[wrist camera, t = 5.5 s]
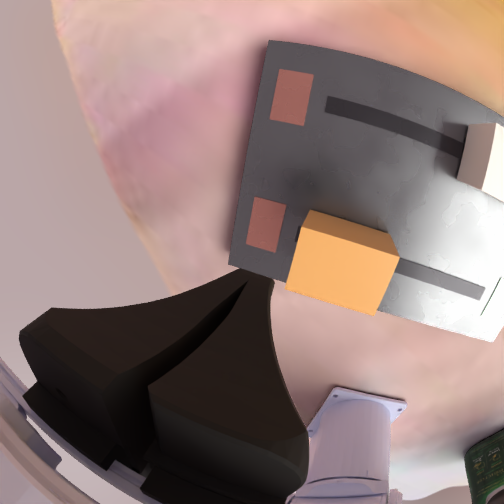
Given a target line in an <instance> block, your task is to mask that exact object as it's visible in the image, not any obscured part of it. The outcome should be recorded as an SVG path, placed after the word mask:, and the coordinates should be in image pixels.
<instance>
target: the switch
mask: <svg viewBox="0 0 504 504" xmlns="http://www.w3.org/2000/svg"><path fill="white" fill-rule="evenodd" d="M456 180H458V181H461V182H463V183H465V184H467V185H469V186H471V187H473V188H475V189H477V190H479V191H481V192H483V193H485V194H487V195H489V196H491V197H493V198H495V199H497V200H499V201H500V202H502V203H504V127H502V126H501V125H499V124H498V123H482V124H469V126H468V132H467V137H466V142H465V147H464V151H463V156H462V160H461V164H460V168H459V172H458V176H457V179H456Z"/></svg>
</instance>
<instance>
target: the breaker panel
mask: <svg viewBox="0 0 504 504" xmlns="http://www.w3.org/2000/svg"><path fill="white" fill-rule="evenodd" d="M482 123H498V124H499V125H501V126H502V127H504V117H502V116H501V115H499V114H498V113H496V112H494V111H493V110H491V109H489V108H487V107H486V106H484V105H482V104H480V103H479V102H477V101H475V100H473V99H471V98H469V97H467V96H465V95H463V94H461V93H459V92H457V91H455V90H453V89H451V88H449V87H447V86H444V85H442V84H440V83H438V82H435V81H433V80H430V79H428V78H426V77H423V76H421V75H418V74H415V73H413V72H410V71H407V70H404V69H402V68H399V67H396V66H393V65H390V64H387V63H383V62H380V61H377V60H373V59H370V58H366V57H362V56H359V55H355V54H350V53H346V52H342V51H337V50H333V49H328V48H322V47H317V46H311V45H305V44H298V43H291V42H282V41H273V40H269V42H268V46H267V51H266V56H265V61H264V66H263V71H262V76H261V81H260V86H259V91H258V96H257V101H256V106H255V112H254V117H253V122H252V128H251V133H250V138H249V144H248V149H247V155H246V160H245V166H244V172H243V177H242V183H241V189H240V195H239V200H238V206H237V212H236V218H235V224H234V230H233V236H232V243H231V249H230V255H229V261H228V264H229V265H232V266H235V267H238V268H242V269H245V270H248V271H251V272H254V273H257V274H260V275H263V276H266V277H269V278H273V279H276V280H279V281H282V282H285V283H287V279H288V275H289V272H290V268H291V264H292V261H293V257H294V253H295V250H296V246H297V242H298V238H299V234H300V231H301V227H302V225H303V223H304V221H305V219H306V217H307V215H308V213H309V211H310V210H313V211H317V212H320V213H324V214H327V215H331V216H334V217H337V218H341V219H344V220H347V221H350V222H354V223H357V224H360V225H363V226H366V227H369V228H372V229H376V230H379V231H382V232H385V233H388V234H390V235H391V238H392V240H393V242H394V244H395V247H396V249H397V251H398V254H399V256H400V258H399V261H398V263H397V266H396V268H395V271H394V273H393V275H392V278H391V280H390V282H389V285H388V287H387V289H386V291H385V294H384V296H383V298H382V300H381V302H380V304H379V307H378V309H377V310H378V311H381V312H385V313H388V314H392V315H395V316H399V317H402V318H405V319H409V320H412V321H416V322H420V323H423V324H427V325H430V326H434V327H437V328H441V329H445V330H448V331H452V332H455V333H459V334H463V335H467V336H470V337H474V338H478V339H481V340H485V341H489V342H493V341H494V340H495V338H496V336H497V335H498V333H499V332H500V330H501V329H502V327H503V325H504V203H502V202H500V201H499V200H497V199H495V198H493V197H491V196H489V195H487V194H485V193H483V192H481V191H479V190H477V189H475V188H473V187H471V186H469V185H467V184H465V183H463V182H461V181H458V180H456V179H457V176H458V172H459V168H460V164H461V160H462V156H463V151H464V147H465V142H466V137H467V132H468V126H469V124H482Z"/></svg>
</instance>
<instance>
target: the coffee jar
mask: <svg viewBox="0 0 504 504" xmlns="http://www.w3.org/2000/svg"><path fill="white" fill-rule="evenodd" d="M464 460H465V468H466V473H467V478H468V483H469V488H470V493H471V499H472V504H504V430H502V431H500V432H498V433H496V434H495V435H493V436H491V437H489V438H487V439H485V440H484V441H482V442H480V443H478V444H476V445H475V446H473V447H472V448H471V449H470V450H469V451H468V452H467V453H466V455H465V459H464Z"/></svg>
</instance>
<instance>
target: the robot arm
mask: <svg viewBox="0 0 504 504" xmlns="http://www.w3.org/2000/svg"><path fill="white" fill-rule="evenodd" d="M274 284H275V282H274V280H273V279H272V278H269V277H266V276H263V275H260V274H257V273H254V272H251V271H248V270H245V269H242V268H239V269H237V270H235V271H233V272H231V273H228V274H226V275H224V276H222V277H220V278H218V279H216V280H213V281H211V282H209V283H207V284H204V285H202V286H199V287H197V288H194V289H191V290H189V291H186V292H183V293H181V294H178V295H175V296H171V297H168V298H164V299H160V300H156V301H152V302H148V303H142V304H136V305H130V306H124V307H114V308H102V309H67V308H50V309H49V310H48V311H46V312H45V313H44V314H42V315H41V316H40V317H38V318H37V319H36V320H34V321H33V322H31V323H30V324H29V325H27V326H26V327H25V328H24V329H22V330H21V331H20V334H19V341H20V346H21V348H22V351H23V353H24V355H25V357H26V360H27V362H28V364H29V365H30V368H31V370H32V372H33V373H34V375H35V377H36V379H37V382H36V383H35V384H34V385H33V386H32V387H31V388H30V389H28V388H27V387H26V386H25V385H24V384H23V383H22V382H21V380H19V378H18V377H17V376H16V375H15V374H14V373H13V372H12V370H11V369H10V368H9V367H8V366H7V365H6V364H5V362H4V361H3V360H2V359H1V357H0V504H100V503H98V502H96V501H95V500H94V499H92V498H91V497H89V496H88V495H87V494H85V493H84V492H82V491H81V490H80V489H79V488H77V487H76V486H75V485H73V484H72V483H71V482H70V481H68V480H67V479H66V478H65V477H63V476H62V475H61V474H60V473H59V472H58V471H56V467H57V465H58V464H59V463H60V462H61V461H62V459H61V457H60V456H59V455H58V454H57V453H56V452H55V451H54V450H53V449H52V448H51V447H50V446H49V445H48V444H47V443H46V442H45V441H44V439H43V438H42V437H41V436H40V435H39V433H38V432H37V431H36V430H35V428H33V426H32V425H31V424H30V423H29V422H28V421H27V420H26V419H27V416H26V414H27V415H28V416H29V417H30V418H31V419H32V420H33V421H34V422H35V423H36V424H37V425H38V426H39V427H40V428H41V429H42V430H43V431H44V432H45V433H46V434H48V436H49V437H50V438H51V439H53V440H54V441H55V442H56V443H57V444H58V445H60V446H61V447H62V448H63V449H64V450H65V451H66V452H68V453H69V454H70V455H71V456H73V457H74V458H75V459H76V460H78V461H79V462H80V463H82V464H83V465H84V466H85V467H87V468H88V469H90V470H91V471H92V472H94V473H95V474H97V475H98V476H99V477H101V478H102V479H104V480H105V481H107V482H108V483H110V484H111V485H113V486H114V487H116V488H118V489H119V490H121V491H122V492H124V493H126V494H127V495H129V496H131V497H133V498H134V499H136V500H138V501H140V502H142V503H143V504H402V493H401V492H399V491H398V489H391V490H390V494H389V467H390V437H391V423H392V422H393V421H394V420H395V419H396V418H397V417H398V416H399V415H400V414H401V413H402V412H403V411H404V410H405V408H406V407H407V402H405V401H400V400H395V399H390V398H385V397H380V396H375V395H371V394H366V393H362V392H357V391H353V390H349V389H345V388H341V387H335V388H333V389H332V391H331V393H330V394H329V396H328V397H327V399H326V400H325V402H324V404H323V405H322V407H321V408H320V410H319V411H318V413H317V414H316V416H315V417H314V418H313V420H312V421H311V423H310V424H309V426H308V427H307V428H306V427H305V425H304V424H303V422H302V420H301V418H300V416H299V414H298V412H297V410H296V408H295V406H294V404H293V402H292V399H291V397H290V395H289V392H288V390H287V387H286V384H285V381H284V379H283V376H282V373H281V370H280V367H279V364H278V360H277V356H276V352H275V347H274V342H273V336H272V328H271V317H270V300H271V295H272V291H273V288H274ZM309 437H310V438H311V441H310V445H309ZM295 491H296V494H292V493H294V492H295Z"/></svg>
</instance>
